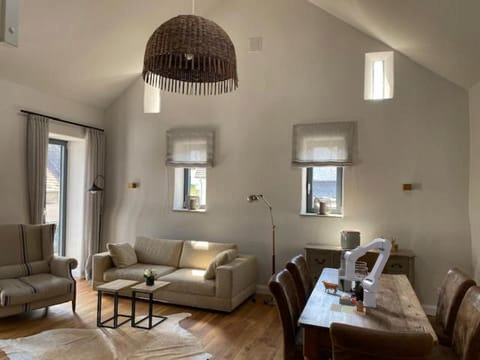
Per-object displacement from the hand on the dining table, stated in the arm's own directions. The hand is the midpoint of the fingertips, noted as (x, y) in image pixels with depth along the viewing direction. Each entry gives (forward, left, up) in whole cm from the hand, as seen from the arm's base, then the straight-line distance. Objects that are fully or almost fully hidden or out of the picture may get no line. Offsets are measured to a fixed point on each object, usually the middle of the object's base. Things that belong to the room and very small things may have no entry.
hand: (349, 292), depth 231 cm
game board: (+6, 0, -9) cm, 11 cm away
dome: (-6, -3, -8) cm, 11 cm away
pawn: (+6, +7, -9) cm, 12 cm away
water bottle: (-38, -5, -10) cm, 40 cm away
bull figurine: (-26, -15, -10) cm, 32 cm away
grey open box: (-6, -1, -9) cm, 11 cm away
